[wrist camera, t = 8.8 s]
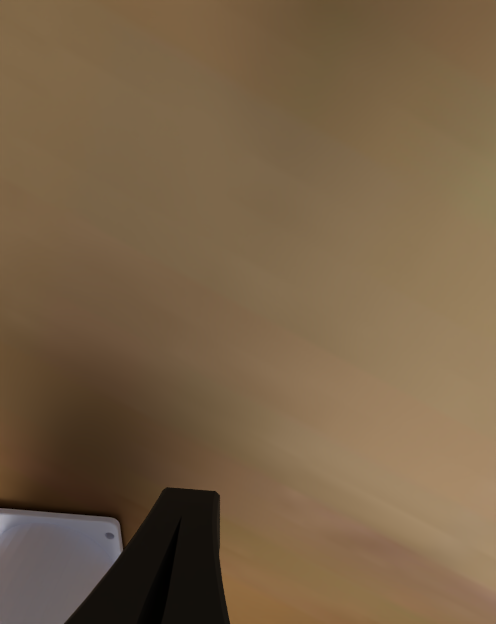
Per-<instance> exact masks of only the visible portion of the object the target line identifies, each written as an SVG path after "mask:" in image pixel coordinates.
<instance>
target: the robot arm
mask: <svg viewBox="0 0 496 624" xmlns="http://www.w3.org/2000/svg"><path fill="white" fill-rule="evenodd" d="M219 549H220V495H219V494H218V493H217V492H216V491H206V490H193V489H181V488H168V487H167V488H165V489H164V490H163V491H162V493H161V494H160V496H159V498H158V499H157V501H156V503H155V504H154V506H153V508H152V509H151V511H150V512H149V514H148V516H147V517H146V519H145V520H144V522H143V523H142V525H141V526H140V528H139V529H138V530H137V532H136V533H135V535H134V536H133V538H132V539H131V540H130V542H129V543H128V545H127V546H126V547H125V549H124V550H123V546H122V538H121V530H120V524H119V522H118V521H117V520H116V519H115V518H112V517H101V516H89V515H77V514H65V513H53V512H41V511H29V510H17V509H5V508H0V624H230V621H229V616H228V611H227V606H226V600H225V595H224V589H223V583H222V576H221V568H220V560H219Z"/></svg>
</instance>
